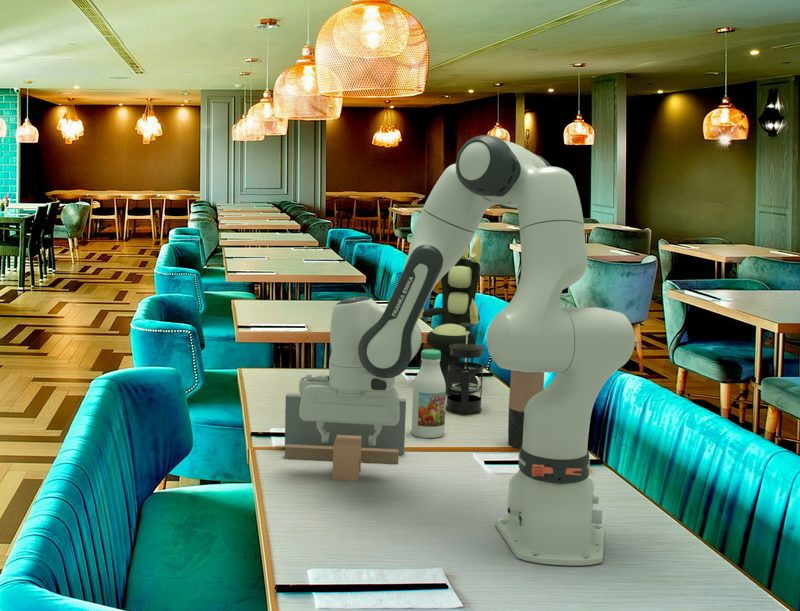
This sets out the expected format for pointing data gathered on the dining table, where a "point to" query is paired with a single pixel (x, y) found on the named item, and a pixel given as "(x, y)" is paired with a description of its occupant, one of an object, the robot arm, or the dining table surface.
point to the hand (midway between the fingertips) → (348, 443)
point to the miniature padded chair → (456, 312)
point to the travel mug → (521, 402)
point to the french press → (465, 378)
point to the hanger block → (346, 457)
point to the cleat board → (308, 440)
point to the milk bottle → (429, 397)
